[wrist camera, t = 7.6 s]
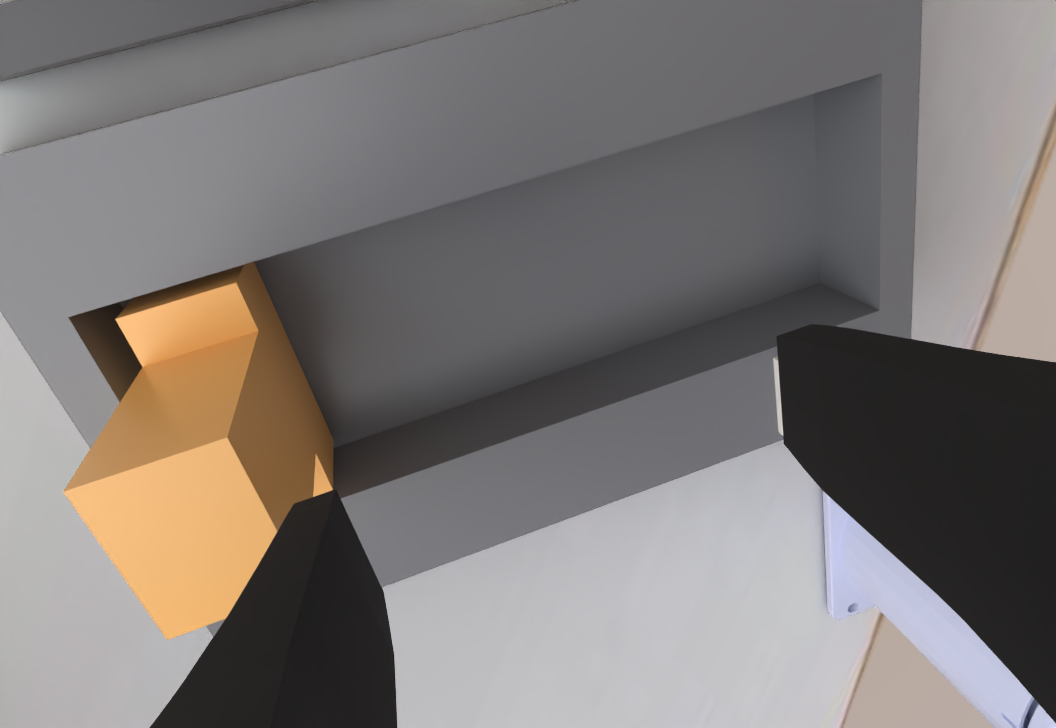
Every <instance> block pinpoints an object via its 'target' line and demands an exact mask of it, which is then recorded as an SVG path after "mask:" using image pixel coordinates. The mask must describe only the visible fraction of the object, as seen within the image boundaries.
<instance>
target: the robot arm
mask: <svg viewBox="0 0 1056 728" xmlns="http://www.w3.org/2000/svg"><path fill="white" fill-rule="evenodd" d="M776 339H777V353H778V367H779V382H780V396H781V410H782V424H783V439H784V444H785V446H786V447H787V448H788V449H789V451H790V452H791V453H792V454H793V455H794V457H795V458H796V459H797V460H798V462H799V463H800V464H801V465H802V467H803V468H804V469H805V470H806V472H807V473H808V474H809V475H810V476H811V477H812V478H813V480H814V481H815V482H816V483H817V484H818V485H819V487H820V488H821V489H822V490H823V509H824V534H825V560H826V585H827V610H828V613H829V614H830V615H831V617H832V618H833V619H835V620H842V619H845V618H847V617H850V616H852V615H855V614H857V613H859V612H862V611H864V610H867V609H869V608H872V607H874V606H876V607H877V608H878V609H879V610H880V611H881V612H882V613H883V614H884V615H885V616H886V618H887V619H889V621H890V622H891V623H893V624H894V626H895V627H896V628H897V629H898V630H899V631H900V632H901V633H902V634H903V635H904V636H905V637H906V638H907V639H908V640H909V641H910V642H911V643H912V644H913V645H914V646H915V647H916V648H917V649H918V650H919V651H920V652H921V653H922V654H923V655H924V656H925V657H926V658H927V659H928V660H929V661H930V662H931V663H932V664H933V665H934V666H935V667H936V668H937V669H938V670H939V671H940V672H941V673H942V675H943V676H944V677H945V678H947V680H948V681H949V682H950V683H951V684H952V685H953V686H954V687H955V688H956V689H957V690H958V691H959V692H960V693H961V694H962V695H963V696H964V697H965V698H966V699H967V700H968V701H969V702H970V703H971V704H972V705H973V706H974V707H975V708H976V709H977V710H978V711H979V712H980V713H981V714H982V715H983V716H984V717H985V718H986V719H987V720H988V721H989V722H990V723H991V724H992V725H993V726H994V727H995V728H1056V362H1048V361H1040V360H1034V359H1026V358H1020V357H1013V356H1006V355H999V354H993V353H986V352H981V351H974V350H969V349H963V348H957V347H951V346H946V345H940V344H934V343H929V342H923V341H918V340H913V339H907V338H902V337H896V336H891V335H885V334H880V333H874V332H869V331H863V330H857V329H851V328H844V327H837V326H829V325H818V324H810V325H807V326H804V327H801V328H799V329H796V330H793V331H790V332H787V333H784V334H781V335H778V336H776ZM150 728H397V712H396V688H395V666H394V652H393V646H392V639H391V633H390V626H389V621H388V615H387V609H386V603H385V598H384V592H383V589H382V587H381V585H380V583H379V581H378V579H377V576H376V574H375V572H374V570H373V568H372V566H371V564H370V561H369V559H368V557H367V555H366V553H365V551H364V548H363V546H362V544H361V542H360V540H359V538H358V535H357V533H356V531H355V529H354V527H353V525H352V523H351V520H350V518H349V516H348V514H347V512H346V510H345V507H344V505H343V503H342V501H341V499H340V497H339V495H338V492H337V490H336V489H335V490H332V491H329V492H326V493H323V494H320V495H317V496H314V497H312V498H309V499H306V500H303V501H300V502H297V503H294V504H293V506H292V508H291V509H290V511H289V512H288V514H287V516H286V518H285V519H284V521H283V523H282V524H281V526H280V528H279V530H278V531H277V533H276V535H275V537H274V538H273V540H272V542H271V544H270V545H269V547H268V549H267V551H266V552H265V554H264V556H263V558H262V559H261V561H260V563H259V565H258V566H257V568H256V570H255V571H254V573H253V575H252V576H251V578H250V580H249V581H248V583H247V585H246V586H245V588H244V590H243V591H242V593H241V595H240V596H239V598H238V600H237V601H236V603H235V605H234V606H233V608H232V610H231V611H230V613H229V614H228V616H227V617H226V619H225V620H224V622H223V623H222V625H221V627H220V628H219V630H218V631H217V633H216V634H215V636H214V637H213V639H212V640H211V642H210V643H209V645H208V646H207V648H206V649H205V651H204V652H203V654H202V655H201V657H200V658H199V660H198V661H197V663H196V664H195V666H194V667H193V669H192V670H191V672H190V673H189V675H188V676H187V678H186V679H185V681H184V682H183V683H182V685H181V686H180V688H179V689H178V690H177V692H176V693H175V695H174V696H173V697H172V699H171V700H170V701H169V703H168V704H167V705H166V707H165V708H164V709H163V711H162V712H161V714H160V715H159V716H158V718H157V719H156V720H155V722H154V723H153V724H152V725H151V727H150Z"/></svg>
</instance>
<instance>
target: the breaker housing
mask: <svg viewBox="0 0 1056 728" xmlns="http://www.w3.org/2000/svg"><path fill="white" fill-rule="evenodd" d="M314 1H318V0H16V1H12V2H8V3H4V4H0V81H4V80H8V79H12V78H16V77H20V76H24V75H28V74H31V73H35V72H39V71H43V70H47V69H51V68H55V67H59V66H63V65H67V64H71V63H75V62H79V61H82V60H86V59H90V58H94V57H98V56H102V55H106V54H110V53H114V52H118V51H122V50H126V49H129V48H133V47H137V46H141V45H145V44H149V43H153V42H157V41H161V40H165V39H169V38H173V37H177V36H180V35H184V34H188V33H192V32H196V31H200V30H204V29H208V28H212V27H216V26H220V25H224V24H227V23H231V22H235V21H239V20H243V19H247V18H251V17H255V16H259V15H263V14H267V13H271V12H275V11H278V10H282V9H286V8H290V7H294V6H298V5H302V4H306V3H310V2H314ZM921 23H922V0H576V1H572V2H568V3H564V4H561V5H557V6H553V7H549V8H546V9H542V10H538V11H534V12H531V13H527V14H523V15H520V16H516V17H512V18H508V19H505V20H501V21H497V22H493V23H490V24H486V25H482V26H478V27H475V28H471V29H467V30H464V31H460V32H456V33H452V34H449V35H445V36H441V37H437V38H434V39H430V40H426V41H422V42H419V43H415V44H411V45H408V46H404V47H400V48H396V49H393V50H389V51H385V52H381V53H378V54H374V55H370V56H366V57H363V58H359V59H355V60H352V61H348V62H344V63H340V64H337V65H333V66H329V67H325V68H322V69H318V70H314V71H310V72H307V73H303V74H299V75H296V76H292V77H288V78H284V79H281V80H277V81H273V82H269V83H266V84H262V85H258V86H255V87H251V88H247V89H243V90H240V91H236V92H232V93H228V94H225V95H221V96H217V97H213V98H210V99H206V100H202V101H199V102H195V103H191V104H187V105H184V106H180V107H176V108H172V109H169V110H165V111H161V112H157V113H154V114H150V115H146V116H143V117H139V118H135V119H131V120H128V121H124V122H120V123H116V124H113V125H109V126H105V127H101V128H98V129H94V130H90V131H87V132H83V133H79V134H75V135H72V136H68V137H64V138H60V139H57V140H53V141H49V142H45V143H42V144H38V145H34V146H31V147H27V148H23V149H19V150H16V151H12V152H8V153H4V154H1V155H0V312H1V313H2V315H3V316H4V318H5V319H6V321H7V322H8V324H9V325H10V327H11V328H12V330H13V331H14V333H15V334H16V336H17V338H18V339H19V341H20V342H21V344H22V345H23V347H24V348H25V350H26V351H27V353H28V354H29V356H30V357H31V359H32V360H33V362H34V364H35V365H36V367H37V368H38V370H39V371H40V373H41V374H42V376H43V377H44V379H45V380H46V382H47V383H48V385H49V386H50V388H51V389H52V391H53V393H54V394H55V396H56V397H57V399H58V400H59V402H60V403H61V405H62V406H63V408H64V409H65V411H66V412H67V414H68V415H69V417H70V418H71V420H72V422H73V423H74V425H75V426H76V428H77V429H78V431H79V432H80V434H81V435H82V437H83V438H84V440H85V441H86V443H87V444H88V446H89V447H90V449H91V447H92V446H93V444H94V443H95V441H96V439H97V438H98V436H99V435H100V433H101V432H102V430H103V428H104V427H105V425H106V424H107V422H108V421H109V419H110V417H111V416H112V414H113V413H114V411H115V410H116V408H117V406H118V405H119V403H120V402H121V400H122V399H123V397H124V395H125V394H126V392H127V391H128V389H129V388H130V386H131V384H132V383H133V381H134V380H135V378H136V377H137V375H138V373H139V372H140V370H141V369H142V365H141V363H140V362H139V360H138V358H137V356H136V355H135V353H134V351H133V349H132V348H131V346H130V344H129V342H128V341H127V339H126V337H125V335H124V334H123V332H122V330H121V328H120V327H119V325H118V323H117V321H116V320H115V319H116V318H117V316H118V315H119V314H120V313H121V312H122V311H123V310H124V308H125V307H126V306H127V305H128V304H129V303H130V301H131V300H132V299H133V298H134V297H137V296H141V295H144V294H147V293H151V292H154V291H157V290H161V289H164V288H167V287H171V286H174V285H177V284H181V283H184V282H187V281H191V280H194V279H197V278H201V277H204V276H207V275H211V274H214V273H217V272H221V271H224V270H227V269H231V268H234V267H237V266H241V265H244V264H247V263H251V262H254V263H255V265H256V267H257V269H258V272H259V274H260V276H261V278H262V281H263V283H264V285H265V287H266V289H267V292H268V294H269V296H270V298H271V301H272V303H273V305H274V307H275V310H276V312H277V314H278V316H279V319H280V321H281V323H282V325H283V328H284V330H285V332H286V334H287V337H288V339H289V341H290V343H291V345H292V348H293V350H294V352H295V354H296V357H297V359H298V361H299V363H300V366H301V368H302V370H303V372H304V375H305V377H306V379H307V381H308V384H309V386H310V388H311V390H312V393H313V395H314V397H315V399H316V401H317V404H318V406H319V408H320V410H321V413H322V415H323V417H324V419H325V422H326V424H327V426H328V428H329V431H330V433H331V435H332V437H333V440H334V449H333V490H335V489H336V490H337V492H338V495H339V497H340V499H341V501H342V503H343V505H344V507H345V510H346V512H347V514H348V516H349V518H350V520H351V523H352V525H353V527H354V529H355V531H356V533H357V535H358V538H359V540H360V542H361V544H362V546H363V548H364V551H365V553H366V555H367V557H368V559H369V561H370V564H371V566H372V568H373V570H374V572H375V574H376V576H377V579H378V581H379V583H380V585H381V587H384V586H386V585H389V584H392V583H395V582H397V581H400V580H403V579H405V578H408V577H411V576H414V575H416V574H419V573H422V572H424V571H427V570H430V569H433V568H435V567H438V566H441V565H443V564H446V563H449V562H452V561H454V560H457V559H460V558H462V557H465V556H468V555H471V554H473V553H476V552H479V551H481V550H484V549H487V548H490V547H492V546H495V545H498V544H500V543H503V542H506V541H509V540H511V539H514V538H517V537H519V536H522V535H525V534H528V533H530V532H533V531H536V530H538V529H541V528H544V527H547V526H549V525H552V524H555V523H557V522H560V521H563V520H566V519H568V518H571V517H574V516H576V515H579V514H582V513H585V512H587V511H590V510H593V509H595V508H598V507H601V506H604V505H606V504H609V503H612V502H614V501H617V500H620V499H623V498H625V497H628V496H631V495H633V494H636V493H639V492H642V491H644V490H647V489H650V488H652V487H655V486H658V485H661V484H663V483H666V482H669V481H671V480H674V479H677V478H680V477H682V476H685V475H688V474H690V473H693V472H696V471H699V470H701V469H704V468H707V467H709V466H712V465H715V464H718V463H720V462H723V461H726V460H728V459H731V458H734V457H737V456H739V455H742V454H745V453H747V452H750V451H753V450H756V449H758V448H761V447H764V446H766V445H769V444H772V443H775V442H777V441H780V440H783V424H782V410H781V396H780V382H779V367H778V353H777V339H776V336H778V335H781V334H784V333H787V332H790V331H793V330H796V329H799V328H801V327H804V326H807V325H810V324H818V325H829V326H837V327H844V328H851V329H857V330H863V331H869V332H874V333H880V334H885V335H891V336H896V337H902V338H907V339H911V322H912V292H913V262H914V232H915V202H916V173H917V143H918V113H919V83H920V53H921ZM224 620H225V619H223V620H220V621H218V622H215V623H212V624H209V625H207V628H208V629H209V631H210V632H211V634H212V635H213V637H214V636H215V634H216V633H217V631H218V630H219V628H220V627H221V625H222V623H223V622H224Z"/></svg>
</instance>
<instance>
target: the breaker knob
mask: <svg viewBox="0 0 1056 728" xmlns="http://www.w3.org/2000/svg"><path fill="white" fill-rule="evenodd" d="M115 320H116V321H117V323H118V325H119V327H120V328H121V330H122V332H123V334H124V335H125V337H126V339H127V341H128V342H129V344H130V346H131V348H132V349H133V351H134V353H135V355H136V356H137V358H138V360H139V362H140V363H141V365H142V369H141V370H140V372H139V373H138V375H137V377H136V378H135V380H134V381H133V383H132V384H131V386H130V388H129V389H128V391H127V392H126V394H125V395H124V397H123V399H122V400H121V402H120V403H119V405H118V406H117V408H116V410H115V411H114V413H113V414H112V416H111V417H110V419H109V421H108V422H107V424H106V425H105V427H104V428H103V430H102V432H101V433H100V435H99V436H98V438H97V439H96V441H95V443H94V444H93V446H92V447H91V449H90V450H89V452H88V454H87V455H86V457H85V458H84V460H83V461H82V463H81V465H80V466H79V468H78V469H77V471H76V472H75V474H74V476H73V477H72V479H71V480H70V482H69V483H68V485H67V487H66V488H65V490H64V491H63V492H64V494H65V495H66V497H67V498H68V499H69V501H70V502H71V504H72V505H73V507H74V508H75V509H76V511H77V512H78V514H79V515H80V516H81V518H82V519H83V521H84V522H85V524H86V525H87V526H88V528H89V529H90V531H91V532H92V534H93V535H94V536H95V538H96V539H97V541H98V542H99V543H100V545H101V546H102V548H103V549H104V551H105V552H106V553H107V555H108V556H109V558H110V559H111V561H112V562H113V563H114V565H115V566H116V568H117V569H118V570H119V572H120V573H121V575H122V576H123V578H124V579H125V580H126V582H127V583H128V585H129V586H130V588H131V589H132V590H133V592H134V593H135V595H136V596H137V598H138V599H139V600H140V602H141V603H142V605H143V606H144V607H145V609H146V610H147V612H148V613H149V615H150V616H151V617H152V619H153V620H154V622H155V623H156V625H157V626H158V627H159V629H160V630H161V632H162V633H163V634H164V636H165V637H166V639H167V640H168V639H171V638H174V637H176V636H179V635H182V634H185V633H187V632H190V631H193V630H196V629H198V628H201V627H204V626H207V625H209V624H212V623H215V622H218V621H220V620H223V619H226V617H227V616H228V614H229V613H230V611H231V610H232V608H233V606H234V605H235V603H236V601H237V600H238V598H239V596H240V595H241V593H242V591H243V590H244V588H245V586H246V585H247V583H248V581H249V580H250V578H251V576H252V575H253V573H254V571H255V570H256V568H257V566H258V565H259V563H260V561H261V559H262V558H263V556H264V554H265V552H266V551H267V549H268V547H269V545H270V544H271V542H272V540H273V538H274V537H275V535H276V533H277V531H278V530H279V528H280V526H281V524H282V523H283V521H284V519H285V518H286V516H287V514H288V512H289V511H290V509H291V508H292V506H293V504H294V503H297V502H300V501H303V500H306V499H309V498H312V497H314V496H317V495H320V494H323V493H326V492H329V491H332V490H333V449H334V440H333V437H332V435H331V433H330V431H329V428H328V426H327V424H326V422H325V419H324V417H323V415H322V413H321V410H320V408H319V406H318V404H317V401H316V399H315V397H314V395H313V393H312V390H311V388H310V386H309V384H308V381H307V379H306V377H305V375H304V372H303V370H302V368H301V366H300V363H299V361H298V359H297V357H296V354H295V352H294V350H293V348H292V345H291V343H290V341H289V339H288V337H287V334H286V332H285V330H284V328H283V325H282V323H281V321H280V319H279V316H278V314H277V312H276V310H275V307H274V305H273V303H272V301H271V298H270V296H269V294H268V292H267V289H266V287H265V285H264V283H263V281H262V278H261V276H260V274H259V272H258V269H257V267H256V265H255V263H254V262H251V263H247V264H244V265H241V266H237V267H234V268H231V269H227V270H224V271H221V272H217V273H214V274H211V275H207V276H204V277H201V278H197V279H194V280H191V281H187V282H184V283H181V284H177V285H174V286H171V287H167V288H164V289H161V290H157V291H154V292H151V293H147V294H144V295H141V296H137V297H134V298H133V299H132V300H131V301H130V303H129V304H128V305H127V306H126V307H125V308H124V310H123V311H122V312H121V313H120V314H119V315H118V316H117V318H116V319H115Z"/></svg>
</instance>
